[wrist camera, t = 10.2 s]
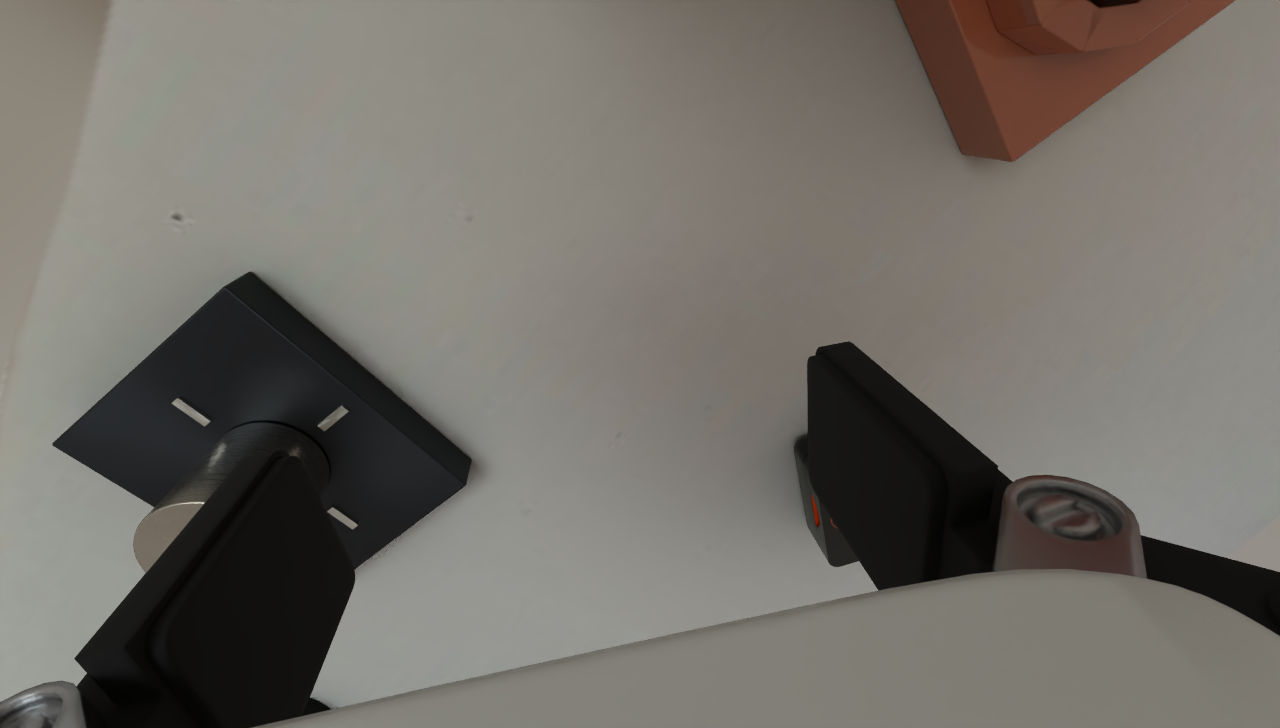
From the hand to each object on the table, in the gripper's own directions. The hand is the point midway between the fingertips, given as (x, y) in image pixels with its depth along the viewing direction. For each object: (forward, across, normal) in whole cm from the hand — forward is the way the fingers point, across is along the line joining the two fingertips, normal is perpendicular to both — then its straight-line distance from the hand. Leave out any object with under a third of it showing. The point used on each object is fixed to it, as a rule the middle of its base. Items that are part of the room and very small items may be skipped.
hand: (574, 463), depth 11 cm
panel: (+15, +13, +6) cm, 21 cm away
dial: (+13, +13, +6) cm, 19 cm away
